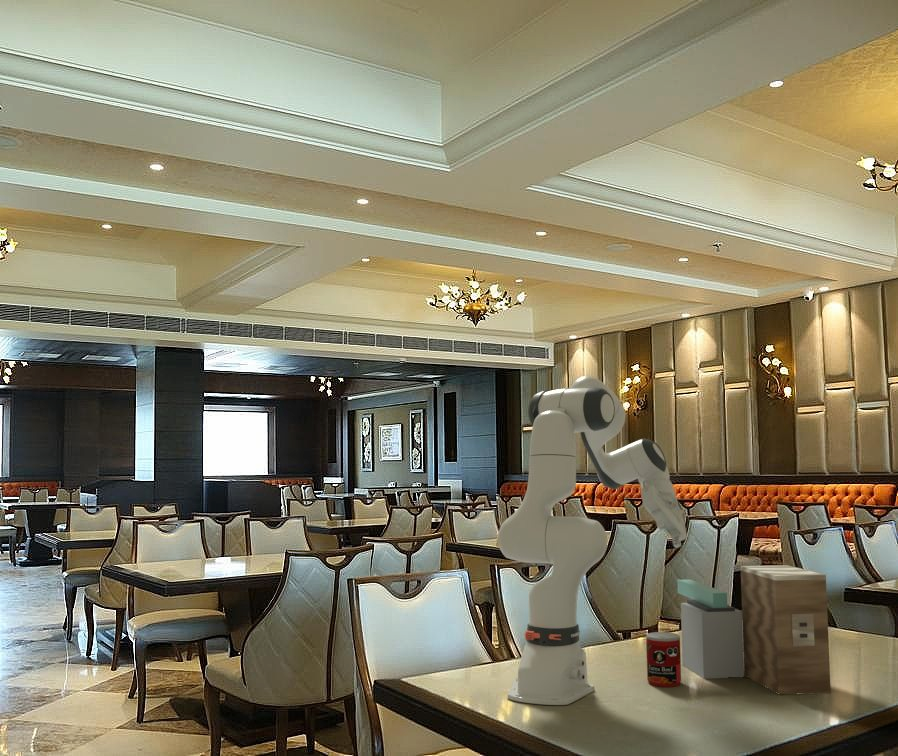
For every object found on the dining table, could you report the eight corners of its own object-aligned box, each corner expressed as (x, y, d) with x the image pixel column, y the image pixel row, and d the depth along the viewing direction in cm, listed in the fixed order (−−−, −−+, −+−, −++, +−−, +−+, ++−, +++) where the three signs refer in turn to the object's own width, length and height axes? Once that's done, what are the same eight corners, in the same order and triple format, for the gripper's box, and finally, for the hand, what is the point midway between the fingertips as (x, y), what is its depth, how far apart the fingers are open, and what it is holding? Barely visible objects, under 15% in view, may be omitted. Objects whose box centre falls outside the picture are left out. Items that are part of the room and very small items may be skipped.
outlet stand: (744, 675, 215) (740, 566, 217) (791, 673, 216) (787, 565, 218) (780, 695, 197) (776, 576, 199) (832, 693, 198) (827, 575, 200)
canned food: (643, 685, 206) (642, 636, 207) (652, 677, 213) (651, 630, 214) (676, 689, 203) (675, 639, 204) (684, 681, 210) (683, 633, 211)
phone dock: (682, 665, 226) (680, 599, 227) (720, 664, 227) (718, 598, 228) (703, 678, 212) (701, 609, 213) (744, 677, 213) (741, 608, 214)
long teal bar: (677, 592, 238) (677, 579, 239) (690, 592, 239) (689, 579, 239) (713, 607, 215) (712, 593, 215) (727, 607, 215) (726, 592, 215)
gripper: (652, 472, 240) (663, 512, 230) (685, 511, 251) (696, 551, 241) (631, 481, 242) (641, 521, 232) (664, 520, 254) (675, 560, 243)
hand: (669, 537), depth 236 cm, fingers open, 8 cm apart
